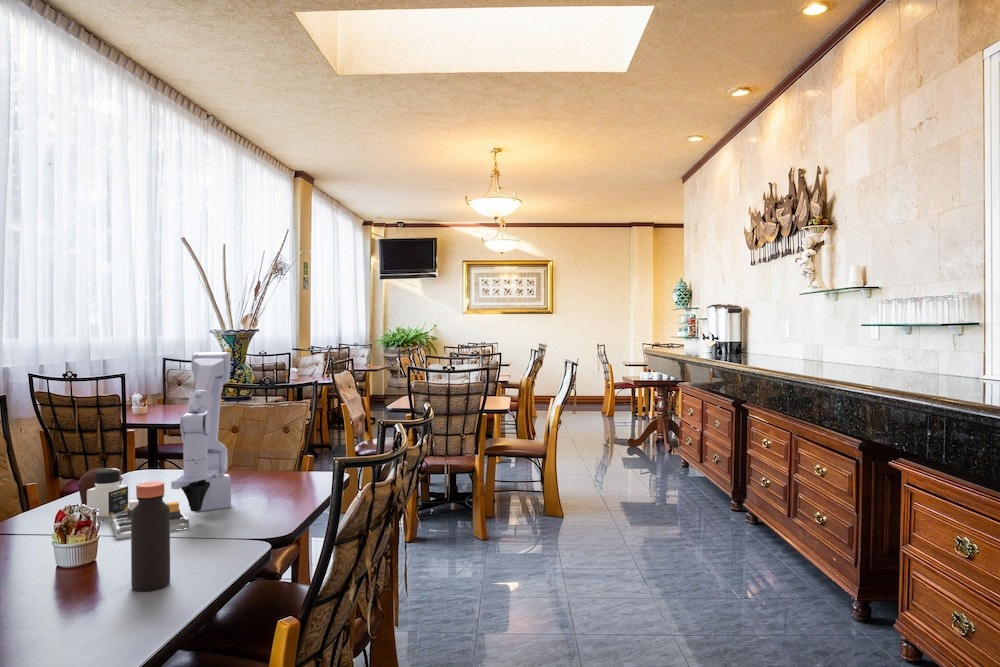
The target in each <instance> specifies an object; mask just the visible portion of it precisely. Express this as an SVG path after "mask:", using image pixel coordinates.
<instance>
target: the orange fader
mask: <svg viewBox="0 0 1000 667" xmlns="http://www.w3.org/2000/svg"><path fill="white" fill-rule="evenodd" d="M166 504H167V505H168V506H169V508H170V519H177V518H181V515H180V510H179V507H180V503H179V501H173V502H172V501H171V502H167V503H166Z"/></svg>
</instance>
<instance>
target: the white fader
mask: <svg viewBox="0 0 1000 667" xmlns="http://www.w3.org/2000/svg"><path fill="white" fill-rule="evenodd" d="M137 504H138V500H137V499H131V500H128V508H127V511H126V513H127V518H128V517H131V511H132V510H133V509H134V508H135V507H136V505H137Z"/></svg>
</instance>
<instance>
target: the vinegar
mask: <svg viewBox="0 0 1000 667" xmlns="http://www.w3.org/2000/svg"><path fill="white" fill-rule="evenodd" d="M135 486H136V488H135V489H136V491H135V492H136V497H135V498H136V500H138V504H137V505H136V507H135V508H134V509H133V510H132V511H131V538H130V546H131V547H130V552H131V553H130V557H131V558H130V559H131V560H130V562H131V564H130V567H131V568H130V569H131V572H130V575H131V578H130V580H131V589H132V590H134V591H135V592H151V591H152V592H153V591H156V590H160V589H163V588H165V587H166V586H168V585H169V584H170V583H171V531H170V508H169V506H168V505H167V503H166V502H165V501H163V499H164V497H165V482H164V481H160V480H159V481H156V480H155V481H146V482H140V483H138V484H136V485H135Z"/></svg>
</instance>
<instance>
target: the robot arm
mask: <svg viewBox="0 0 1000 667" xmlns="http://www.w3.org/2000/svg"><path fill="white" fill-rule="evenodd" d="M231 361H232V360H231V354H230V353H229V352H228V351H225V352H198V351H196V352H194V353H193V354H192V356H191V362H190V363H191V365H190V366H191V371H192V373H193V376H194V377H193V378H194V379H195V381H196V382H195V383H196V385H195V391H193V392H191V393H190V395H189V398H188V402H187V408H186V411H185V413H184V415H183V414H182V415H181V417H180V421H179V423H180V424H179V427H180V428H179V429H180V434H181V442H182V444H183V446H182V447H183V450H182V452H183V453H182V454H183V462H182V463H183V474H181V476H180V477H179V478H177V479H174V480H171V481H170V482H171V484H170V486H171V487H170V488H171V489H172V490H181V491H183V493H184V495H185V497H186V500H187V502H188V506H189V509H190V511H191V512H195V513H196V512H206V511H212V510H218V509H227V508H232V507H233V506H232V481H231V475H230V474H229V473H226V472H227V471H228V468H229V467H228V465H229V459H228V458H229V456H228V448H227V446H226V445H225V444H223V443H222V442H221V441H219V429H220V418H221V417H220V415H221V401H222V400H221V399H222V391H223V387H224V385H226V384H228V383H229V382H230V378H231V368H232V367H231V366H232V362H231Z"/></svg>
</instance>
